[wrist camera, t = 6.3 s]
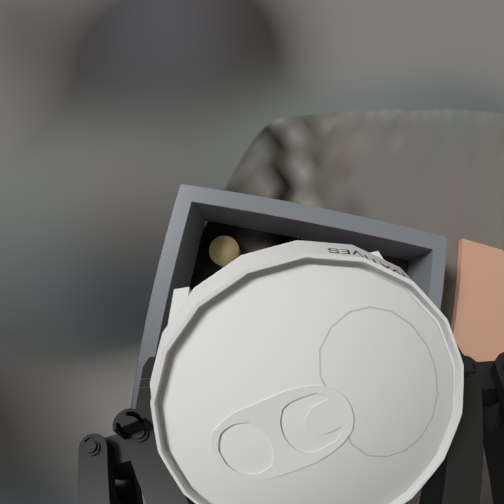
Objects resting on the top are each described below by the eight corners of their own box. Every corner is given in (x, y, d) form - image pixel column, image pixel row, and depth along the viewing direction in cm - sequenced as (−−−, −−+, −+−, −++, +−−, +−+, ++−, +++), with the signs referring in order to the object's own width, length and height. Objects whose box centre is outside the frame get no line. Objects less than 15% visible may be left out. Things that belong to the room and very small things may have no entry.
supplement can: (316, 267, 21) (396, 167, 6) (365, 373, 19) (504, 453, 5) (207, 317, 21) (75, 316, 6) (257, 423, 19) (228, 580, 5)
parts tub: (148, 427, 20) (126, 445, 16) (195, 205, 23) (180, 184, 19) (372, 469, 18) (388, 494, 14) (421, 250, 21) (446, 237, 17)
